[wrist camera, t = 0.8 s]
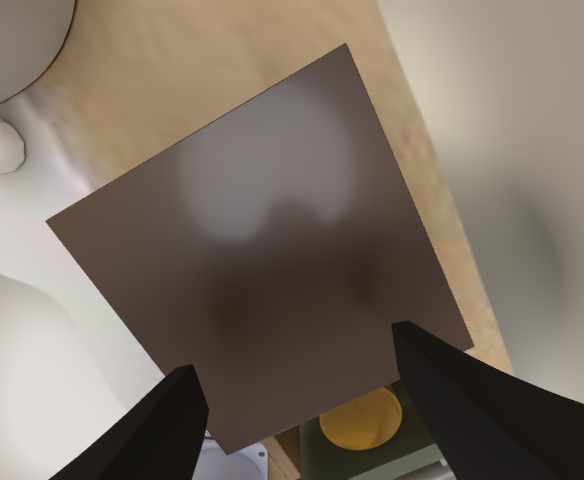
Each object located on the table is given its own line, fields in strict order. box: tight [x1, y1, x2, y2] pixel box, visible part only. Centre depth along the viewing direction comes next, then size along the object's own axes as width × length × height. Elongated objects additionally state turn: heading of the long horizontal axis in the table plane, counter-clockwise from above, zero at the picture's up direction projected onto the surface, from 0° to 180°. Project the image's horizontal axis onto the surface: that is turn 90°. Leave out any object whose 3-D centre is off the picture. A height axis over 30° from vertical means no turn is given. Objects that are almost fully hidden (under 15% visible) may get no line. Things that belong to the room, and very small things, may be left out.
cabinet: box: [46, 43, 474, 456], centre depth 15 cm, size 13×13×7 cm
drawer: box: [260, 379, 457, 480], centre depth 17 cm, size 17×12×6 cm
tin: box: [319, 384, 402, 450], centre depth 17 cm, size 4×4×4 cm
